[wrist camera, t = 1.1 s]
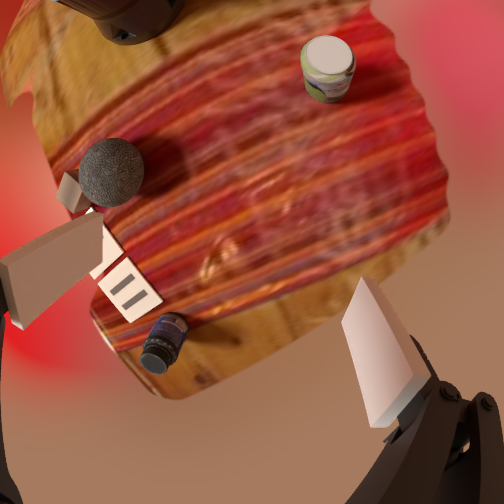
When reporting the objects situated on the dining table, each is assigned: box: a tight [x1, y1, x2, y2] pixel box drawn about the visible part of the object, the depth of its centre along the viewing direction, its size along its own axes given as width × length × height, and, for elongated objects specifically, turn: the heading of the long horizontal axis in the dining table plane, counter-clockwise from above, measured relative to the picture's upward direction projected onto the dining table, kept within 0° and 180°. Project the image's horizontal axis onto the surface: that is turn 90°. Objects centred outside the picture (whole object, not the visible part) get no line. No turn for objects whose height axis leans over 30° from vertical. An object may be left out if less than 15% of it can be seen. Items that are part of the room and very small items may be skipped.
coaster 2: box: [98, 257, 163, 323], centre depth 47 cm, size 10×10×1 cm
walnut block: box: [56, 169, 92, 213], centre depth 38 cm, size 5×5×5 cm
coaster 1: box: [86, 207, 124, 279], centre depth 44 cm, size 10×10×1 cm
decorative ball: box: [78, 138, 144, 207], centre depth 35 cm, size 10×10×10 cm
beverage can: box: [300, 36, 356, 103], centre depth 27 cm, size 6×7×12 cm
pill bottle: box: [140, 313, 189, 375], centre depth 43 cm, size 6×6×11 cm
